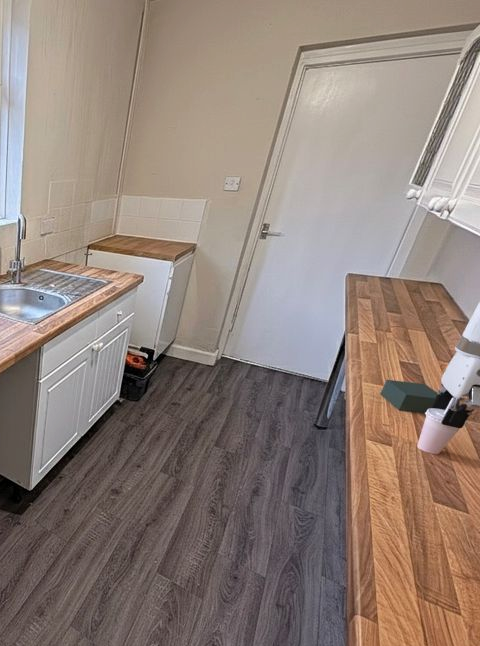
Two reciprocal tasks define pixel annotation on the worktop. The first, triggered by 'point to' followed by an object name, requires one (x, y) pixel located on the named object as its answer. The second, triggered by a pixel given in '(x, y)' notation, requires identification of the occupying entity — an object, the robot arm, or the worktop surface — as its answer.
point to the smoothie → (436, 431)
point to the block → (409, 395)
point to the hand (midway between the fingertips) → (445, 417)
